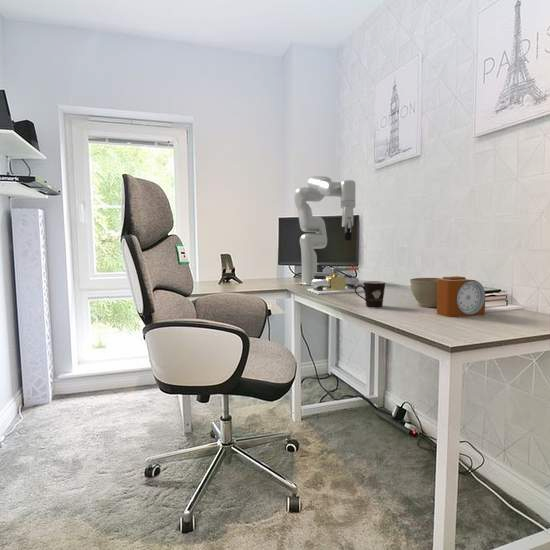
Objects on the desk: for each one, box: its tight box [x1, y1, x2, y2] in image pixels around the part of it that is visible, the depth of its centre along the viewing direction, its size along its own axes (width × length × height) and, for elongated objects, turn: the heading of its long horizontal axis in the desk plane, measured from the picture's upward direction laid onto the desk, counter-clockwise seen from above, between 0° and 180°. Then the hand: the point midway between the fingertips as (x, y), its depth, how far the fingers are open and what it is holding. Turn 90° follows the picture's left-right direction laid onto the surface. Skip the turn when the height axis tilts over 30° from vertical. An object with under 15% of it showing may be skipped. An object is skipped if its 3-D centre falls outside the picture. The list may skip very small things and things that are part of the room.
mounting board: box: [306, 286, 365, 295], centre depth 203 cm, size 16×27×1 cm, turn 107°
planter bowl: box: [409, 277, 441, 308], centre depth 154 cm, size 16×16×11 cm
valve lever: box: [331, 266, 359, 272], centre depth 205 cm, size 15×4×2 cm, turn 108°
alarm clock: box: [436, 275, 486, 318], centre depth 137 cm, size 15×8×14 cm, turn 105°
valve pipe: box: [310, 271, 360, 291], centre depth 203 cm, size 7×26×10 cm, turn 107°
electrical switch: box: [314, 271, 331, 280], centre depth 217 cm, size 9×5×9 cm, turn 57°
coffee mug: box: [354, 280, 386, 308], centre depth 156 cm, size 12×9×10 cm
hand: (348, 240), depth 198 cm, fingers closed
